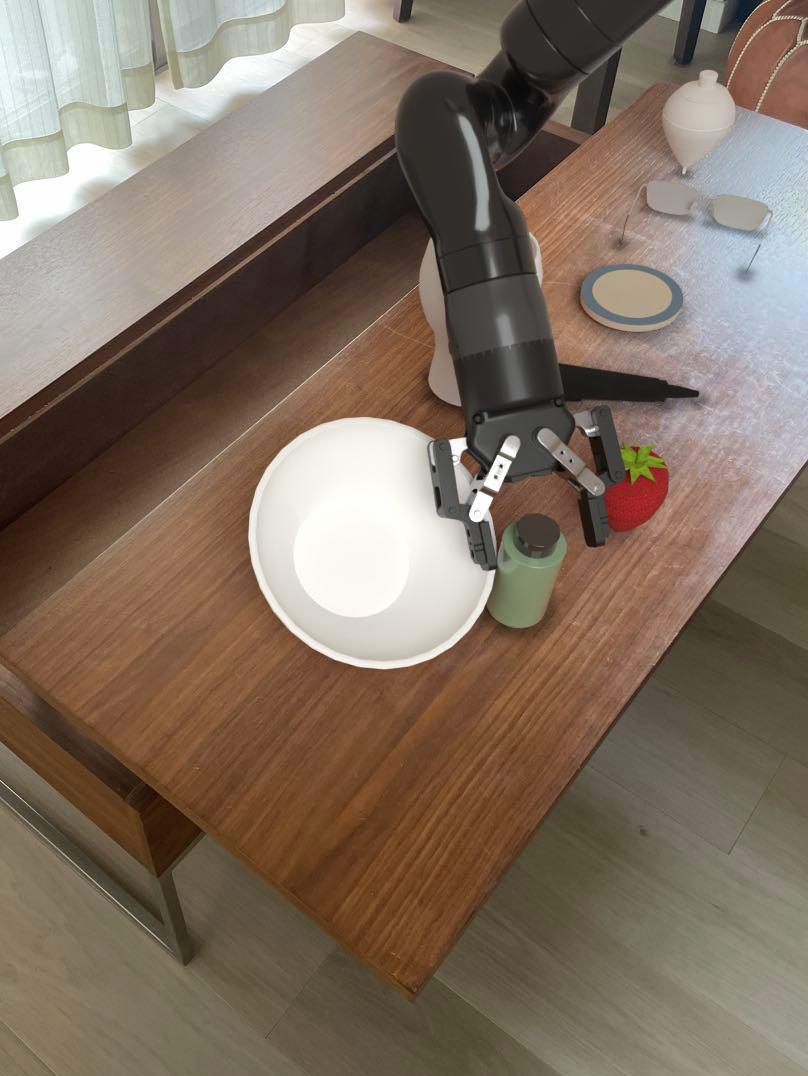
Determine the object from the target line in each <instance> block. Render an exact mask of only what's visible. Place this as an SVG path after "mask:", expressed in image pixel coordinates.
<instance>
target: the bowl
mask: <svg viewBox="0 0 808 1076" xmlns="http://www.w3.org/2000/svg"><path fill="white" fill-rule="evenodd" d="M433 440H436V439H435V438H433V437H431V436H429V434H428V435H427V434H426V433H424V432H422V431H421V430H419V429H417V428H415V427H414V426H410V425H406V424H404V423H400V422H398V421H395V420H393V419H386V418H378V417H372V416H361V417H359V416H358V417H343V418H339V419H336V420H335V419H334V420H332V421H328V422H323V423H320V424H318V425H316V426H314V427H313V428H311V429H309V430H306V431H304V432H302V433H301V434H299V435H298V436H296V437H295V438H294V439H293V440H292V441H290V442H289V443H288V444H286V445H285V446H284V447H283V448H281V450H280V451H279V452H278V454H277V455H276V456H275V457H274V458H273V459H272V461H271V462H270V463H269V464H268V465H267V467H266V469H265V471H264V473H263V475H262V477H261V479H260V480H259V483H258V485H257V486H256V488H255V491H254V497H253V500H252V502H251V507H250V510H249V520H248V534H247V536H248V540H247V541H248V548H249V554H250V561H251V566H252V570H253V572H254V575H255V579H256V581H257V584H258V587H259V590H260V592H261V593H262V595H263V596H264V598H265V600H266V602H267V603H268V605H269V607H270V609H271V611H272V612H273V613H274V615H275V616H276V617H277V618H278V619H279V621H281V623H282V624H283V625H284V626H285V627H286V629H287V630H288V631H289V632H290V633H292V634H293V635H294V636H295V637H297V639H299V640H300V641H301V642H303V643H304V644H305V645H307V646H308V647H309V648H311V649H312V650H315V651H316V652H318V653H320V654H322V655H324V656H326V657H328V658H330V659H332V660H335V661H337V662H340V663H344V664H348V665H351V666H353V667H354V666H355V667H358V668H366V669H367V668H368V669H378V670H390V669H398V668H406V667H408V668H409V667H412V666H414V665H415V666H416V665H417V664H420V663H424V662H426V661H430V660H433V659H434V658H436V657H437V656H439V655H441V654H442V653H444V652H446V651H447V650H449V649H450V648H453V646H455V644H457V643H458V642H459V641H460V640H461V639H462V638H463V637H464V636H465V635H466V634H467V633H468V632H469V631H470V630H471V629H472V628H473V626H474V625H475V623H476V621H477V620H478V618H480V615H481V614H482V613H483V611H484V609H485V606H486V602H487V599H488V597H489V594H490V592H491V590H492V586H493V580H494V575H495V570H491V571H484V570H482V568H481V566H480V565H478V564H475V563H474V562H473V560H472V559H471V555H470V550H469V545H468V541H467V536H466V531H465V526H464V524H463V523H462V522H461V521H459V520H454V519H447V518H441V517H439V516H438V515H437V513H436V507H435V500H434V493H433V486H432V479H431V473H430V466H429V459H428V452H427V445H428V443H429V442H431V441H433ZM454 471H455V477H456V484H457V491H458V498H459V504H464V503H465V501H466V499H467V496H468V494H469V492H470V486H471V484H472V482H473V479H474V476H472V474H471V472H470V471H469V470H468V469H467V467H465V465H464V464H463V463H462V462H461V461H460V463H459V464H458V465H457V466H455V467H454ZM484 520H485V521H489V525H490V530H491V535H492V540H493V545H494V550H495V555H496V556H497V537H496V532H495V527H494V526H495V525H494V522H493V516H492V514H491V511H490V508H489V509H488V511H487V513H486V515H485V517H484Z"/></svg>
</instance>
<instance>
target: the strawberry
mask: <svg viewBox="0 0 808 1076" xmlns="http://www.w3.org/2000/svg"><path fill="white" fill-rule="evenodd" d="M631 440H632V441H633V442H634V443H635V444H636V445H637V446H635V445H632V446H630V445H628V444H627V443H626V442H624V441H621V445H622V447H620V450H621V454H622V458H623V462H624V466H625V471H626V478H625V480H624V481H622V482H620V483H616V484H615V485H613V486H612V487H610V488H609V489H607V491H606V492H605V494H604V501H605V506H606V511H607V517H608V522H609V527H610V529H612V530H613V531H615V532H616V533H624V532H628V531H632V530H634V529H636V528H638V527H640V526H641V525H644V524H645V523H647V522H648V521H650V520H651V519H652V518H653V516H655V514H656V513H657V512H658V511H659V510H660V508H661V507H662V505H663V504H664V503H665V500H666V498H667V496H668V494H669V484H670V474H669V473H670V472H669V468H670V467H668V466H667V464H666V462H667V461H668V460H667V459H662V457H661V456H659V454H657V453H656V452H654V451H653V450H652V449H653V448H654V445H655V444H656V443H655V442H653V443H650V444H648V445H645V446H644V447H642V446H641V445H640V443H638V442H637V441H636V440H635V439H634V438H631ZM593 473H594V474H596V473H597V470H596V469H595V471H594V472H593Z"/></svg>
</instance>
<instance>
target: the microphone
mask: <svg viewBox="0 0 808 1076" xmlns="http://www.w3.org/2000/svg"><path fill="white" fill-rule="evenodd" d="M558 365H559V370H560V375H561V380H562V385H563V391H564V400H565V402H575V403H576V402H578V403H579V402H582V400H593V401H594V400H595V401H617V402H639V403H640V402H641V403H656V402H663V403H664V402H665V401H666V399H687V398H688V399H689V398H691V399H693V398H699V397H700V390H696V389H693V388H688V387H685V386H681V385H676V384H669V383H668V381H667V380H666V379H660V378H658V377H653V376H645V375H639V374H634V373H633V374H632V373H627V372H620V371H612V370H608V369H607V370H606V369H601V368H594V367H588V366H581V365H575V364H574V365H573V364H568V363H560V362H558Z"/></svg>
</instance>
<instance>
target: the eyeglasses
mask: <svg viewBox="0 0 808 1076" xmlns="http://www.w3.org/2000/svg"><path fill="white" fill-rule="evenodd" d="M643 187H646V202H647V205H648V207H649V208H650V209H651V210H654V211H656V212H659V213H663V214H668V215H674V216H686V215H688V214H689V213H690V212H693V211H695V209H696V208H697V206H698V204H699V203H698V202H699V199H700V198H706V199H711V200H712V205H710V207H709V209H710V215H711V216H712V217H714V220H715V221H716V222H717V223H718V224H720V225H722V226H724V227H728V228H730V229H731V228H732V229H735V230H740V231H745V232H746V231H747V232H749V231H750V232H751V231H755V230H757V229H758V228H759V227H760V226H761V225H762V224H763V222H764V221H765V219H766V217H767V215H768V214H770V216H769V219H768V222H767V224H766V227H765V229H764V232H763V235H762V238H761V240H760V242H759V244H758V246H757V248H756V251H755V253H754V255H753V256H752V259H751V260H750V263H749V265H748V267H747V269H746V272H745V274H747V273H748V271H749V269H750V267H751V265H752V263H753V261H754V259H755V257H756V256H757V254H758V253H759V250H760V248H761V245H762V242H763V240H764V238H765V235H766V232H767V230H768V228H769V225H770V223H771V221H772V218H773V216H774V211H773V210H771V209H769V206H768V205H767V204H766V203H764V202H761V201H758V200H756V199H752V198H748V197H746V196H745V197H744V196H740V195H735V194H726V193H725V194H718V195H716V196H715V197H712V196H707V195H703V194H701V195H700V191H698V190H697V189H696V188H694V187H692V186H690V185H687V184H683V183H678V182H673V181H667V180H656V179H653V180H650V181H648V183H645V182H644V183H642V185H641V186H640V187H639V190H638V192H637V195H636V196H635V199H634V202H633V204H632V205H631V208H630V210H629V213H628V214H627V216H626V219H625V221H624V225H623V230H622V235H621V240H620V246H621V245H623V240H624V236H625V230H626V225H627V222H628V220H629V218H630V215H631V212H632V210H633V208H634V206H635V204H636V202H637V200H638V198H639V195H640V194H641V192H642V190H643Z"/></svg>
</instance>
